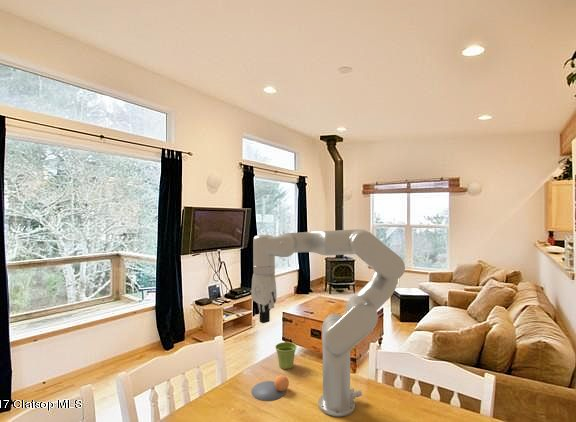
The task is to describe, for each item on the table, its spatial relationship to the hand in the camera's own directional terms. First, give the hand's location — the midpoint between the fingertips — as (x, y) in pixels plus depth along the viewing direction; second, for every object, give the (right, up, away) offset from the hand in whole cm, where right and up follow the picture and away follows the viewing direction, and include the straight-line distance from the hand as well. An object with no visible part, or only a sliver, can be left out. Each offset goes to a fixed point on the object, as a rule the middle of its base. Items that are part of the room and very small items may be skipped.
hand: (264, 321), depth 118 cm
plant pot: (+7, -29, +28) cm, 41 cm away
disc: (+1, -29, +9) cm, 30 cm away
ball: (+6, -26, +9) cm, 28 cm away
